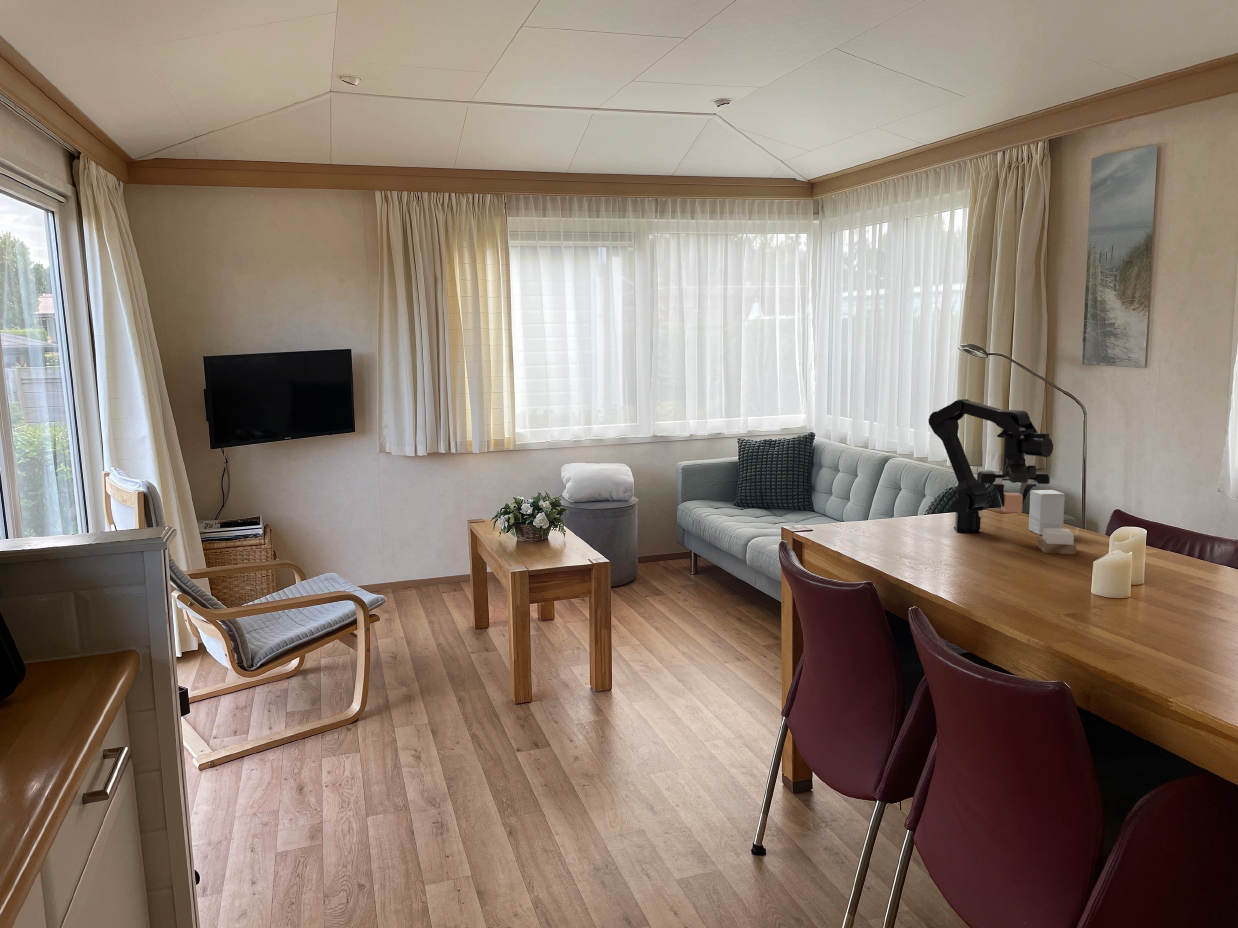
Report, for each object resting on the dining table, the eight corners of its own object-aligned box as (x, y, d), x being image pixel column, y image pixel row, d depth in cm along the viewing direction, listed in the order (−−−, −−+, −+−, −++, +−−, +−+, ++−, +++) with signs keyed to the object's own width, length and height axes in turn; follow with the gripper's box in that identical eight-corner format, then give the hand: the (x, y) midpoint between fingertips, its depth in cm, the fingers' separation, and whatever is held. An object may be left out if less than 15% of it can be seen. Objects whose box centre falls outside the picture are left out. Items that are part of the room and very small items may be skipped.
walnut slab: (1044, 554, 239) (1044, 544, 238) (1036, 547, 247) (1037, 537, 246) (1075, 555, 237) (1076, 545, 237) (1066, 548, 245) (1067, 538, 245)
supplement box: (1063, 534, 260) (1065, 493, 258) (1038, 535, 260) (1040, 494, 258) (1051, 529, 267) (1054, 489, 265) (1027, 529, 267) (1029, 489, 265)
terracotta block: (1005, 512, 251) (1005, 495, 250) (1001, 509, 255) (1002, 492, 255) (1021, 512, 250) (1022, 495, 249) (1017, 509, 255) (1018, 492, 254)
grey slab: (1047, 543, 239) (1048, 533, 239) (1042, 538, 245) (1042, 528, 245) (1073, 544, 237) (1073, 534, 237) (1067, 539, 244) (1067, 529, 243)
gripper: (986, 457, 244) (983, 511, 247) (1056, 457, 241) (1054, 512, 243) (977, 452, 255) (975, 504, 257) (1045, 452, 252) (1042, 505, 254)
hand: (1011, 506), depth 253 cm, fingers closed on terracotta block, 5 cm apart
